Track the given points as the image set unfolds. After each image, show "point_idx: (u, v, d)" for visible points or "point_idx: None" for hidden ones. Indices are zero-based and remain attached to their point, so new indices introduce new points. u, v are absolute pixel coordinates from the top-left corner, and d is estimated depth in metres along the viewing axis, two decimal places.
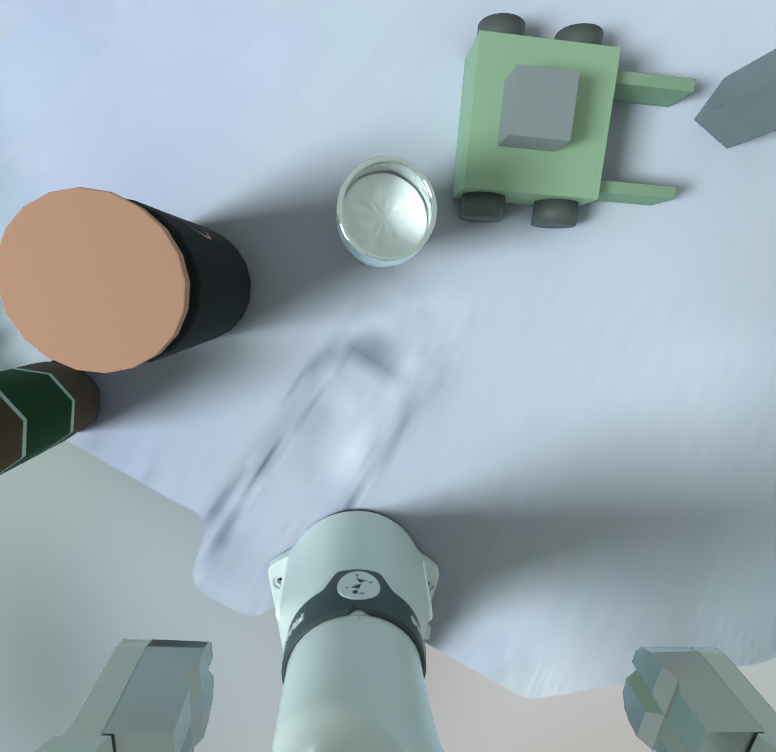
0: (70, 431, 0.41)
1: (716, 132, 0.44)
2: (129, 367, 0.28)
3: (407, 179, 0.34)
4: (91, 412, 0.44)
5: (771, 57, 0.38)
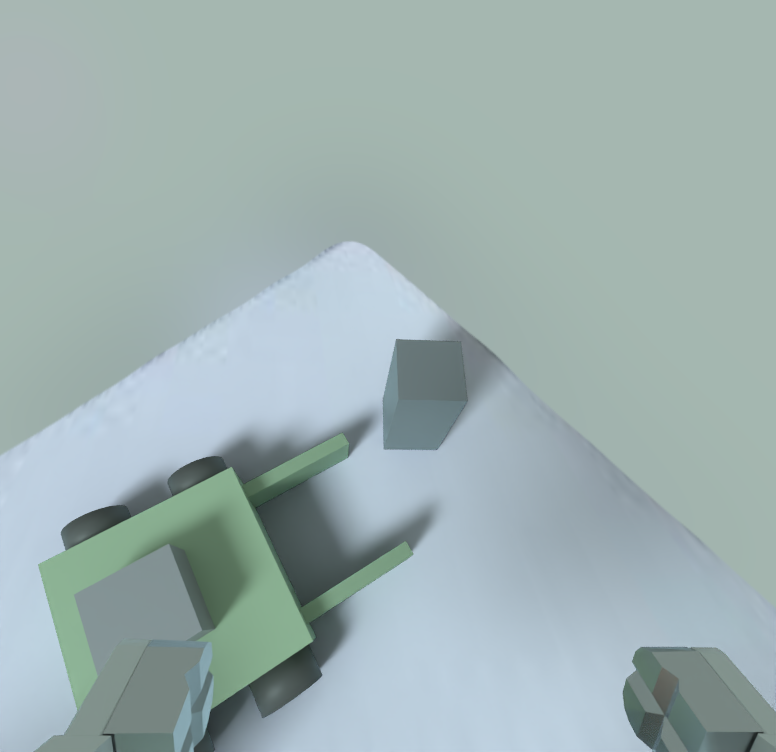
0: None
1: (412, 447, 0.38)
2: None
3: None
4: None
5: (390, 379, 0.34)
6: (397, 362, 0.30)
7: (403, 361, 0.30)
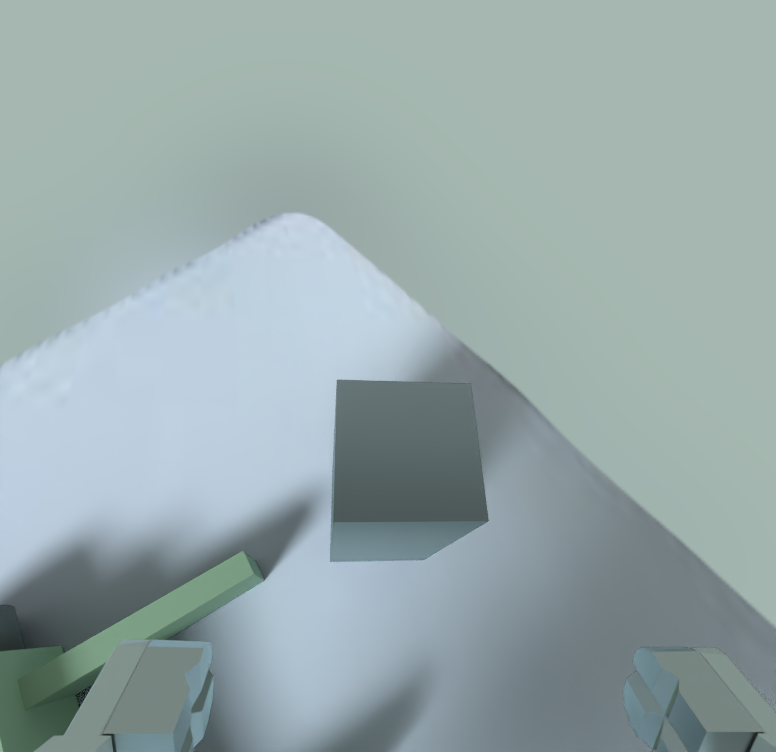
0: None
1: (380, 559, 0.21)
2: None
3: None
4: None
5: None
6: (336, 431, 0.14)
7: (349, 429, 0.14)
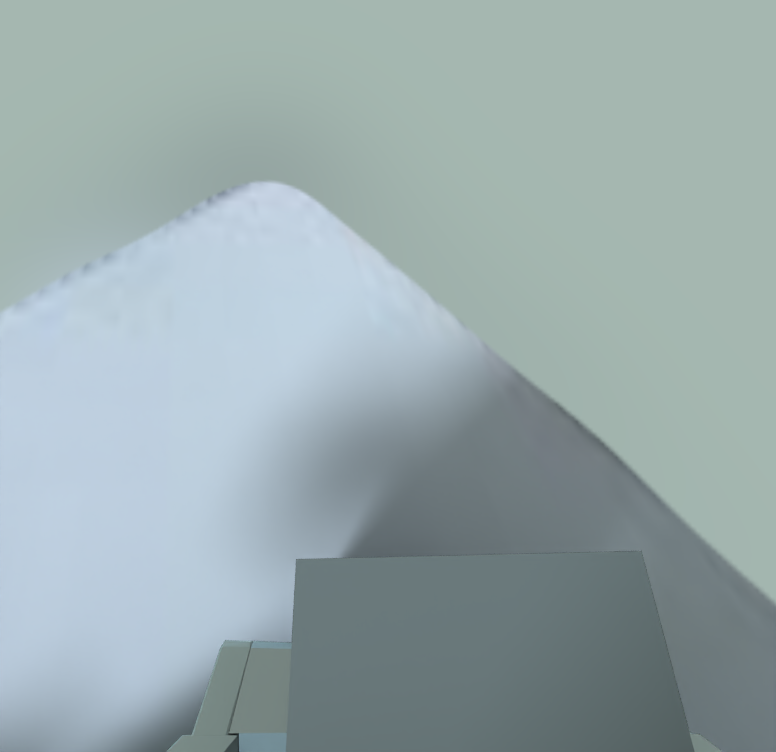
0: None
1: None
2: None
3: None
4: None
5: None
6: (291, 735, 0.05)
7: (327, 733, 0.05)
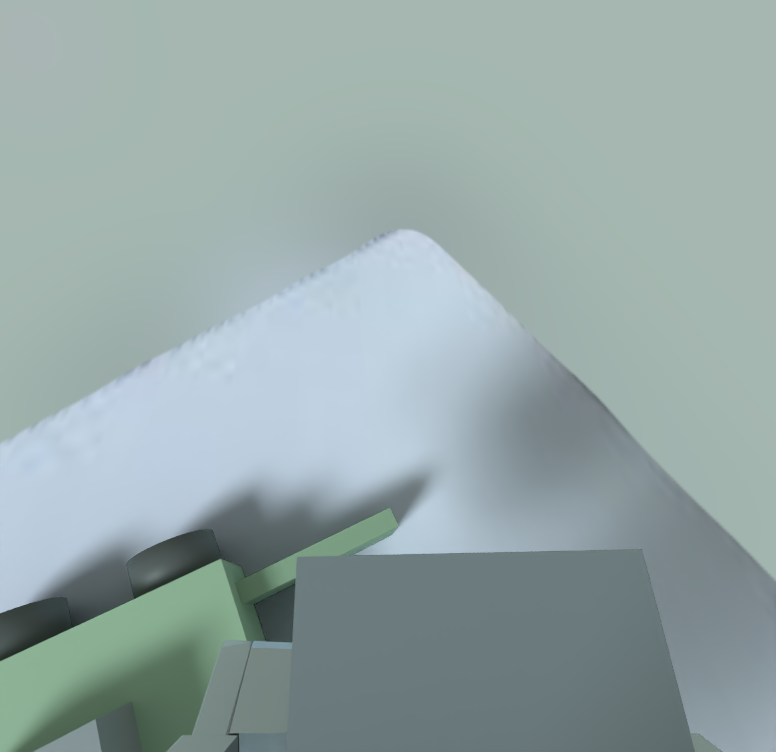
0: None
1: None
2: None
3: None
4: None
5: None
6: (291, 732, 0.05)
7: (327, 730, 0.05)
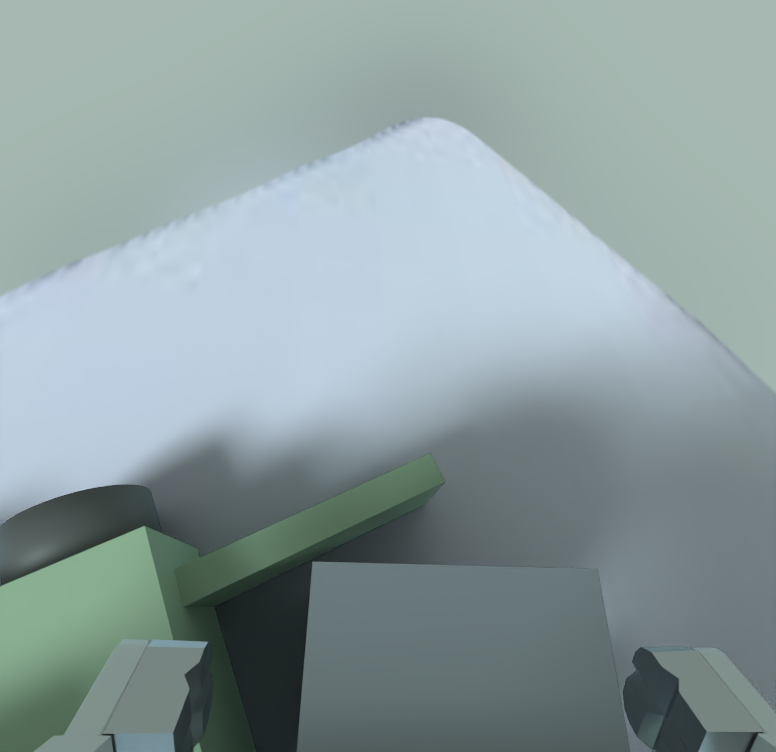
0: None
1: None
2: None
3: None
4: None
5: None
6: (304, 701, 0.06)
7: (332, 700, 0.06)
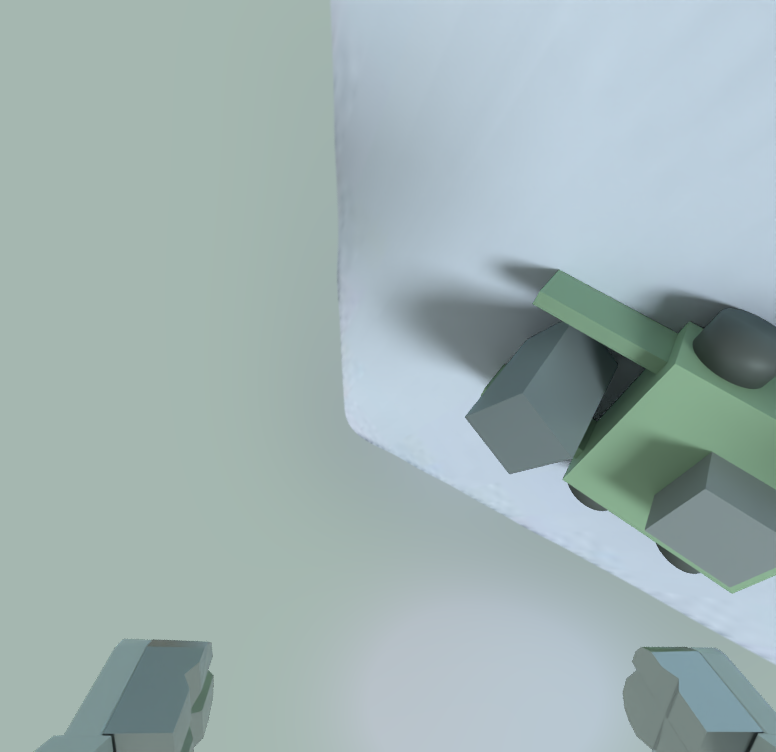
0: None
1: (595, 342, 0.30)
2: None
3: None
4: None
5: None
6: (532, 467, 0.27)
7: (527, 463, 0.26)
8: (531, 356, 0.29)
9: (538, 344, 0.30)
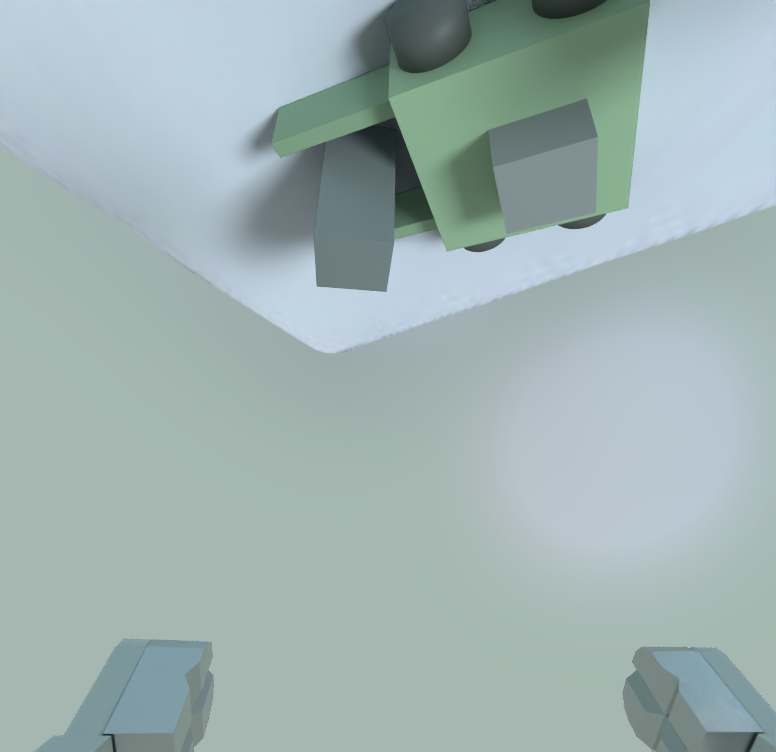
0: None
1: (360, 131, 0.30)
2: None
3: None
4: None
5: None
6: (388, 273, 0.28)
7: (382, 274, 0.28)
8: None
9: None
